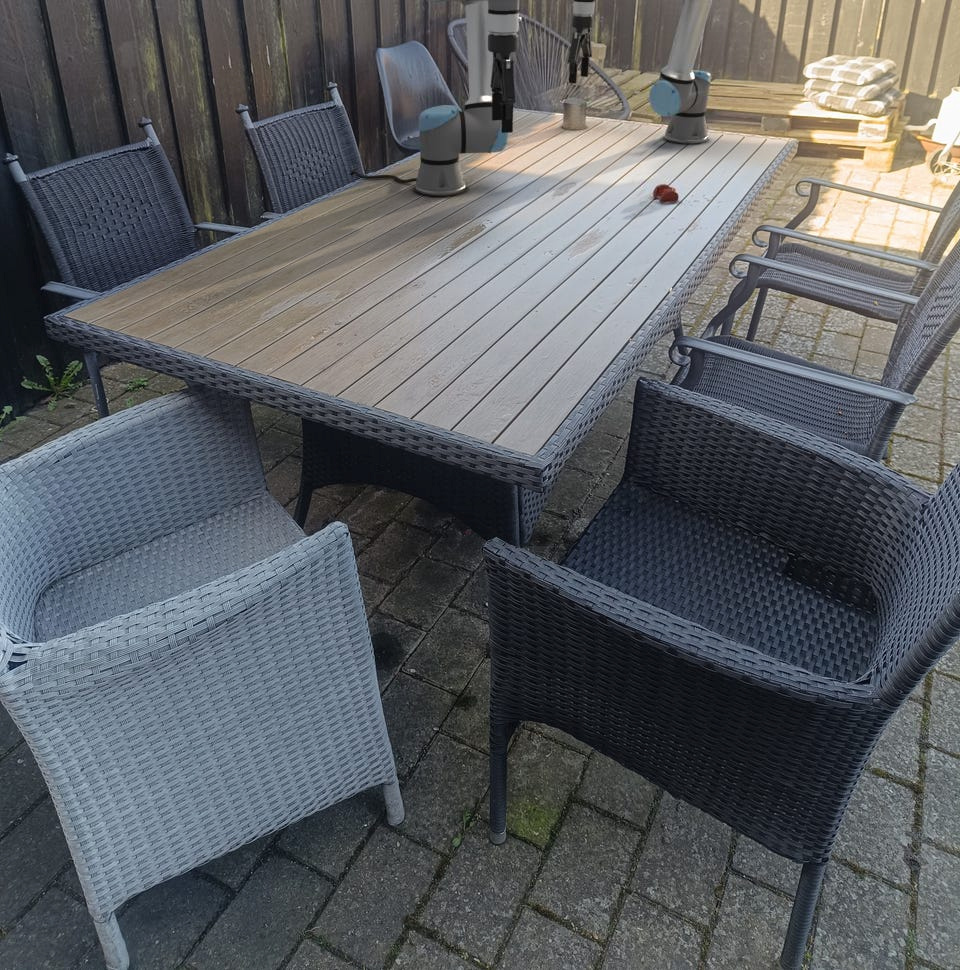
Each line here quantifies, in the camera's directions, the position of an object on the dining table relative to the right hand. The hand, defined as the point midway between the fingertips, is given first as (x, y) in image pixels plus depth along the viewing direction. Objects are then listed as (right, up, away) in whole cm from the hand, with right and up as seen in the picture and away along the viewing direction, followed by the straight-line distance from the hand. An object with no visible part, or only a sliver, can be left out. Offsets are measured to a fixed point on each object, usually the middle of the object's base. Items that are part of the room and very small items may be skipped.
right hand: (578, 79), depth 313 cm
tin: (0, -13, +11) cm, 17 cm away
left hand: (-31, -59, -97) cm, 118 cm away
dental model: (+18, -66, -63) cm, 93 cm away
